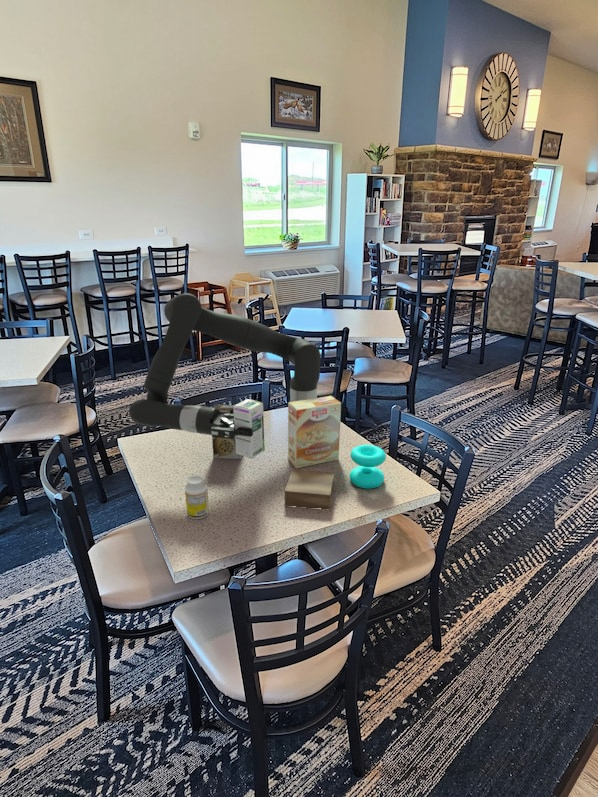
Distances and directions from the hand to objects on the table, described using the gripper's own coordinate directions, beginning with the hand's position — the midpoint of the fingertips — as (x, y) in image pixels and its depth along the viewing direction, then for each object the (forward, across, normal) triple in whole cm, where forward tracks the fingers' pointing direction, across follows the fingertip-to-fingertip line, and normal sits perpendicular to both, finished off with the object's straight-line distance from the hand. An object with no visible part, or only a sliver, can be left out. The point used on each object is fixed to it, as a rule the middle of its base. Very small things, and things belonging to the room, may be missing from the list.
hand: (257, 426), depth 132 cm
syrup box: (-2, 0, +8) cm, 8 cm away
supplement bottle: (-11, -15, +20) cm, 27 cm away
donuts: (+29, +13, +20) cm, 37 cm away
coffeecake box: (+11, +22, +20) cm, 31 cm away
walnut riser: (+15, +1, +20) cm, 25 cm away
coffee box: (-16, +18, +20) cm, 31 cm away
